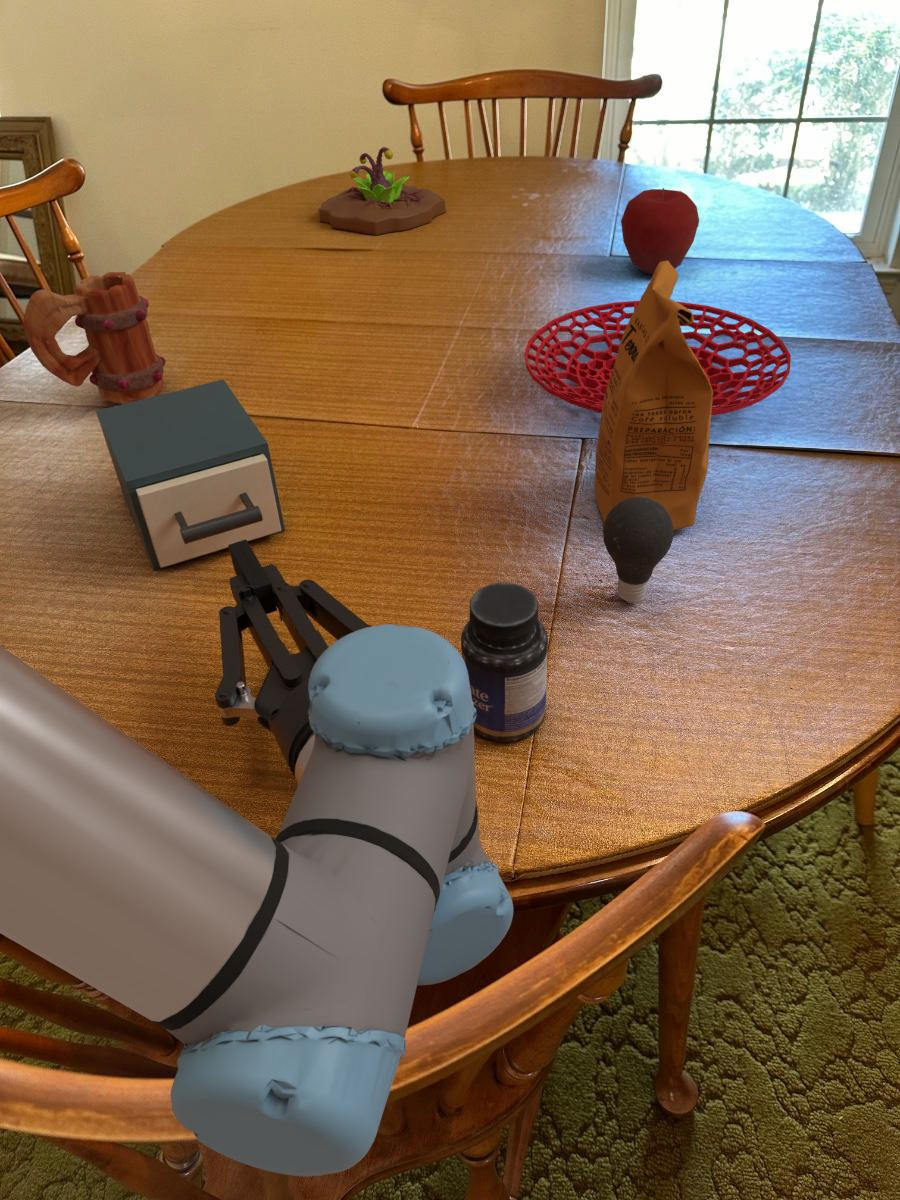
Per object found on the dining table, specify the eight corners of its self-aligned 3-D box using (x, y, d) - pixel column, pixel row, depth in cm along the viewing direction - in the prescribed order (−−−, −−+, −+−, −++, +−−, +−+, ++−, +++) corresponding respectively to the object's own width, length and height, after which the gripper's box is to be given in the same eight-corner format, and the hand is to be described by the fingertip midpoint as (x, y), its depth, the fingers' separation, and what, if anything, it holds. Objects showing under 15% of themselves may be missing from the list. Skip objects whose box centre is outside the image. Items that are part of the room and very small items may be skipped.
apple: (604, 267, 139) (608, 184, 132) (663, 253, 143) (671, 172, 135) (646, 290, 132) (653, 204, 124) (708, 275, 135) (719, 190, 127)
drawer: (296, 554, 86) (281, 481, 81) (171, 593, 82) (148, 519, 77) (241, 466, 98) (226, 398, 93) (131, 497, 95) (109, 428, 90)
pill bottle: (450, 704, 71) (442, 592, 64) (519, 675, 73) (519, 564, 66) (490, 757, 67) (486, 644, 60) (562, 726, 69) (566, 613, 62)
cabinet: (285, 531, 90) (267, 442, 84) (154, 571, 86) (125, 481, 80) (242, 462, 101) (223, 378, 95) (123, 495, 97) (95, 410, 91)
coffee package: (691, 469, 95) (720, 253, 81) (702, 541, 86) (738, 310, 72) (593, 467, 96) (605, 254, 82) (593, 538, 87) (607, 310, 73)
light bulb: (607, 574, 83) (614, 478, 76) (670, 586, 81) (683, 489, 75) (590, 613, 79) (597, 515, 72) (657, 627, 77) (669, 528, 71)
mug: (156, 372, 119) (124, 254, 109) (186, 393, 114) (155, 271, 104) (45, 411, 112) (0, 289, 103) (71, 436, 107) (27, 309, 98)
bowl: (642, 489, 93) (646, 445, 90) (474, 383, 112) (473, 344, 109) (840, 401, 105) (849, 359, 101) (657, 319, 124) (660, 281, 121)
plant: (380, 242, 153) (373, 169, 145) (303, 220, 163) (293, 151, 156) (463, 210, 163) (460, 140, 156) (385, 191, 174) (379, 125, 167)
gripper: (260, 827, 59) (171, 616, 76) (444, 751, 63) (322, 567, 80) (237, 748, 54) (148, 542, 71) (437, 671, 58) (309, 493, 75)
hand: (240, 555), depth 75 cm, fingers closed
